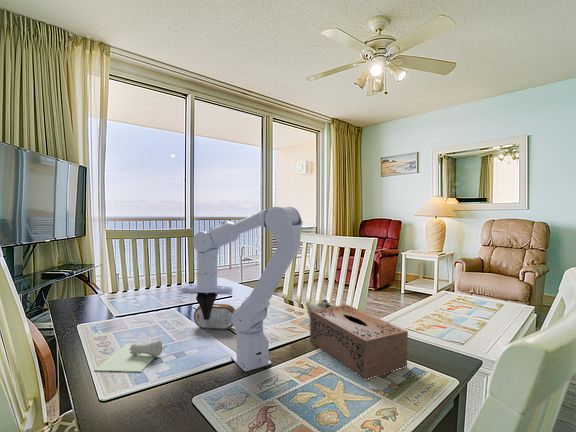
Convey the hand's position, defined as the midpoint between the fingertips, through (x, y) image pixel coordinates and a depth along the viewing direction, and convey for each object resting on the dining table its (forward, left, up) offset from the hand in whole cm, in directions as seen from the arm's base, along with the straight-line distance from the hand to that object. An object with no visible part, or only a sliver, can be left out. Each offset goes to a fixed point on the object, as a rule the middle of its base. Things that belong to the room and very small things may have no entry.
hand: (207, 318), depth 94 cm
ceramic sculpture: (0, -45, -10) cm, 46 cm away
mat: (+6, +19, -9) cm, 22 cm away
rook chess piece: (+2, +13, -7) cm, 15 cm away
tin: (+15, -8, -10) cm, 20 cm away
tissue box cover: (-24, -36, -10) cm, 44 cm away
